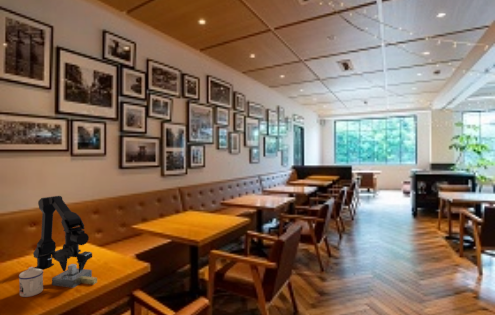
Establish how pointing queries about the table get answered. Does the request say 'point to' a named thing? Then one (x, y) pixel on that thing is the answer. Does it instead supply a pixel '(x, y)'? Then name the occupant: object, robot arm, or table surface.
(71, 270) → the wedge pin
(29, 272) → the teacup with lid
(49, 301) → the table surface
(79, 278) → the grey slotted block
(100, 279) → the table surface
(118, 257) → the table surface
